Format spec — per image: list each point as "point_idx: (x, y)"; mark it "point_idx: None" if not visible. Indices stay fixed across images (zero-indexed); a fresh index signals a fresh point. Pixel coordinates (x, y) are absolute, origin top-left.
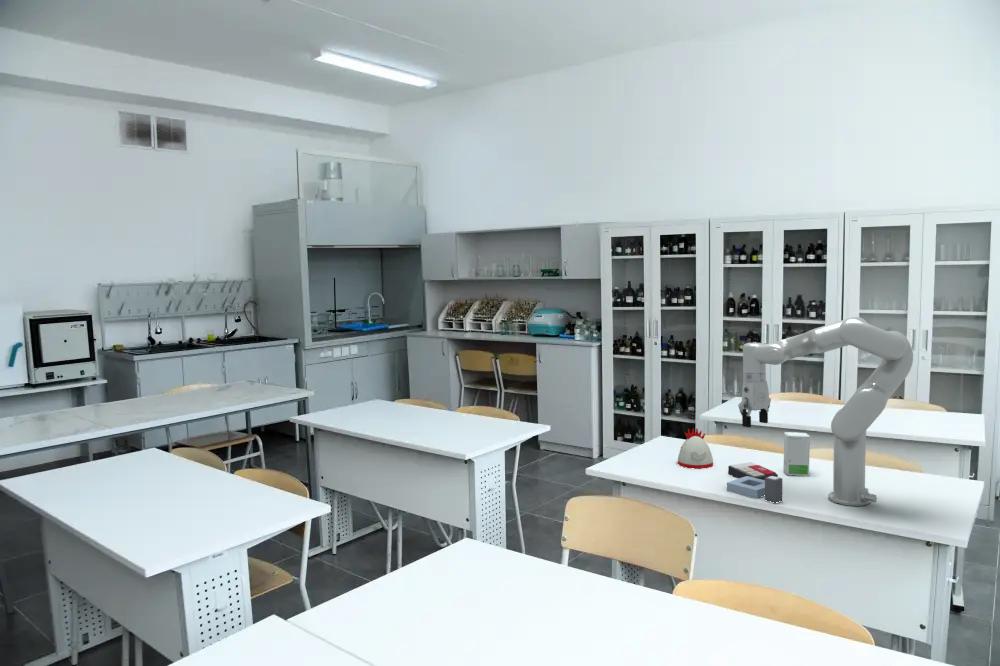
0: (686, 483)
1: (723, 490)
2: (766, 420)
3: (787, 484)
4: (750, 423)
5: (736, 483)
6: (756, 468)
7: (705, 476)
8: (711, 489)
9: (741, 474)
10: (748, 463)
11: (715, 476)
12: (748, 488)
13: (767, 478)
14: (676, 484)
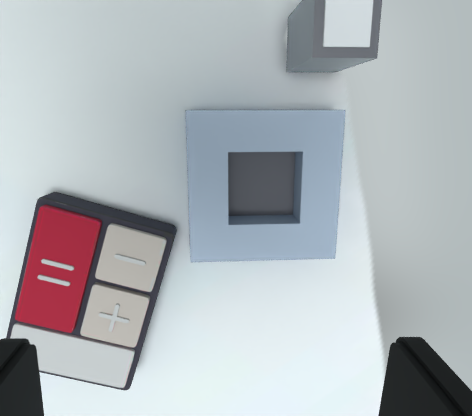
0: (349, 384)
1: None
2: (11, 366)
3: (61, 135)
4: (441, 367)
5: (319, 225)
6: (68, 293)
7: (228, 396)
8: (349, 290)
9: (154, 305)
10: None
11: (199, 375)
12: (341, 153)
13: (374, 43)
14: None
